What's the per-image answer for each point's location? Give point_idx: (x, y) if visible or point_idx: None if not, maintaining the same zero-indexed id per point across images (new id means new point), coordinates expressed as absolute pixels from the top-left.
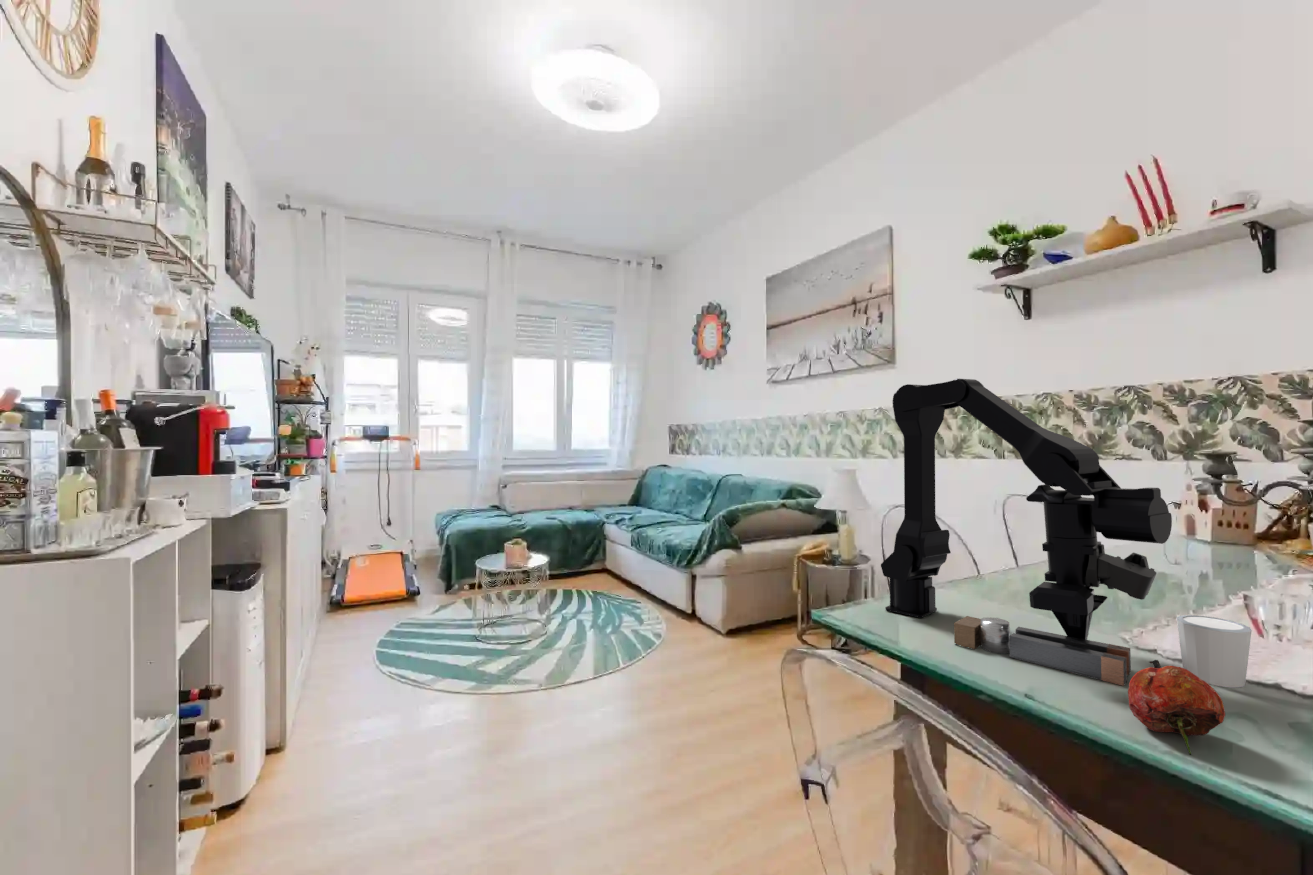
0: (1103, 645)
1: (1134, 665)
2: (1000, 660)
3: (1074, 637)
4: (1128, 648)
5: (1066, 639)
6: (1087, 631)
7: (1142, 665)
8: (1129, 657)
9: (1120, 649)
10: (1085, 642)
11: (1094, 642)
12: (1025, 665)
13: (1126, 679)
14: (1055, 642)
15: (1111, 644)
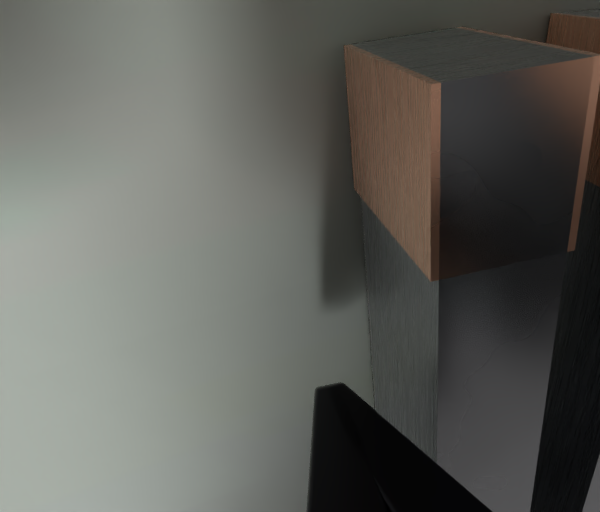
0: (520, 289)
1: (76, 81)
2: None
3: None
4: (469, 93)
5: (529, 490)
6: (383, 501)
7: (2, 30)
8: (488, 52)
9: (565, 142)
10: (531, 399)
11: (475, 365)
12: None
13: (571, 14)
14: (590, 494)
15: (433, 258)
